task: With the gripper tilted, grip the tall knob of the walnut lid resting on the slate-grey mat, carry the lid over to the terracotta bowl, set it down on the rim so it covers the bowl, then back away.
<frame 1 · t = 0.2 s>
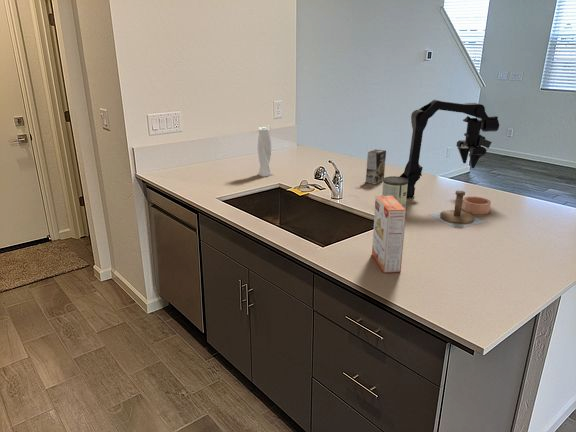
hand: (468, 165, 208), 15 cm above the worktop, tool pointing down, fingers open, 9 cm apart
lid: (456, 218, 184), resting on mat
mat: (456, 219, 184), on the worktop
coffee can: (392, 211, 193), on the worktop
bowl: (475, 210, 194), on the worktop
cracker box: (385, 263, 146), on the worktop
coffee box: (374, 181, 236), on the worktop
skyscraper: (265, 176, 247), on the worktop
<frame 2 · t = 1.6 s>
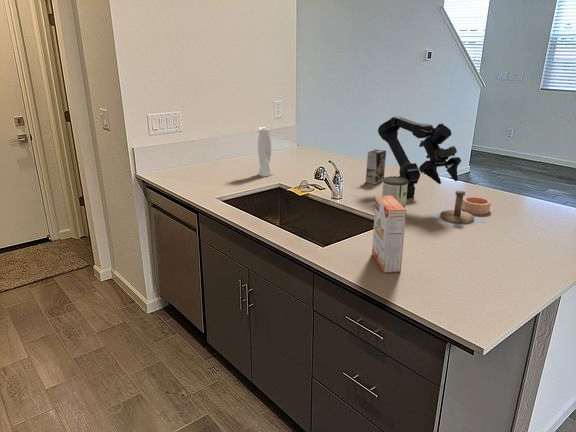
hand: (448, 182, 187), 13 cm above the worktop, tool tilted 45°, fingers open, 9 cm apart
nothing on the worktop moved.
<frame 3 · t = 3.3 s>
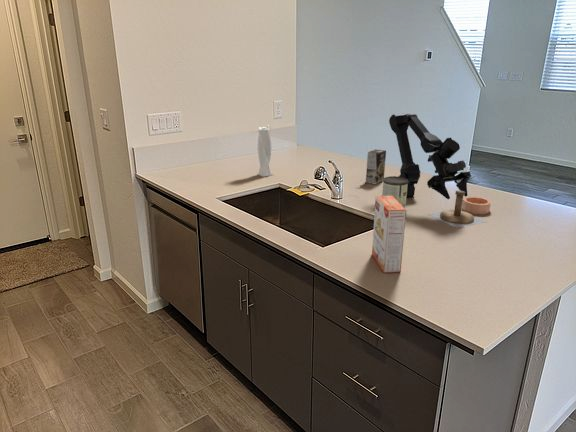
hand: (457, 197, 182), 9 cm above the worktop, tool tilted 45°, fingers open, 9 cm apart
nothing on the worktop moved.
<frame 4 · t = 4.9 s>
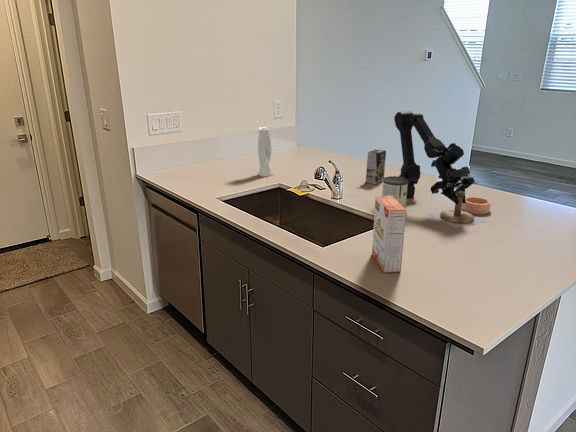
hand: (461, 203, 180), 7 cm above the worktop, tool tilted 45°, fingers closed on lid, 3 cm apart
lid: (456, 218, 184), resting on mat, touching gripper
everything else where it was.
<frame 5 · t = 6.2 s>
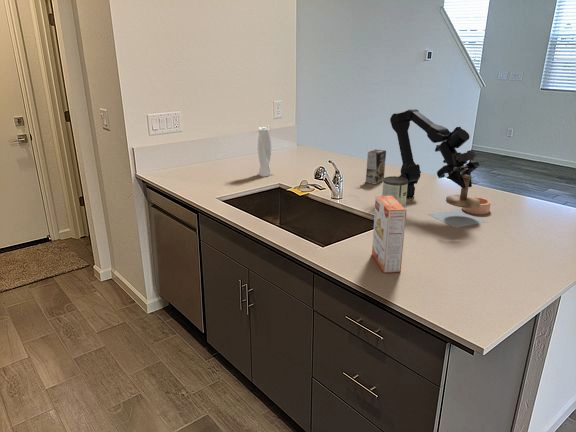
hand: (467, 187, 179), 13 cm above the worktop, tool tilted 45°, fingers closed on lid, 3 cm apart
lid: (462, 202, 183), point 7 cm above the worktop, touching gripper
everything else where it was.
when the fingers open (12 cm above the worktop, at t = 7.7 s): lid drops 1 cm, resting on bowl.
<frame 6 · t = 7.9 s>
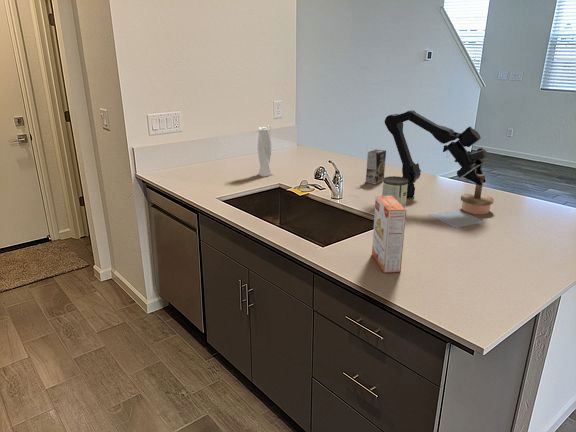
hand: (483, 183, 189), 12 cm above the worktop, tool tilted 45°, fingers open, 5 cm apart
lid: (476, 200, 192), point 4 cm above the worktop, touching bowl
everything else where it was.
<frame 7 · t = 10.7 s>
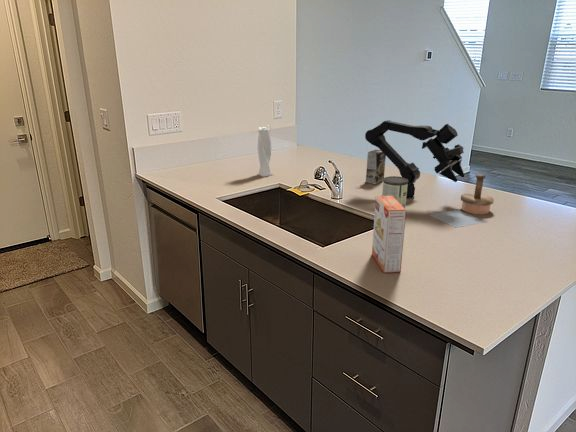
hand: (460, 179, 194), 13 cm above the worktop, tool tilted 45°, fingers open, 9 cm apart
nothing on the worktop moved.
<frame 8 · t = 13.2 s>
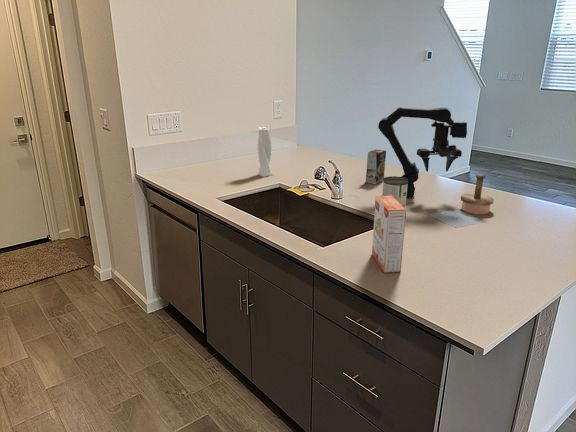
hand: (436, 171, 205), 13 cm above the worktop, tool pointing down, fingers open, 9 cm apart
nothing on the worktop moved.
at the end: lid 0.1 cm from the bowl (horizontally); lid point 4.5 cm above the worktop; lid tilted 0° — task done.
